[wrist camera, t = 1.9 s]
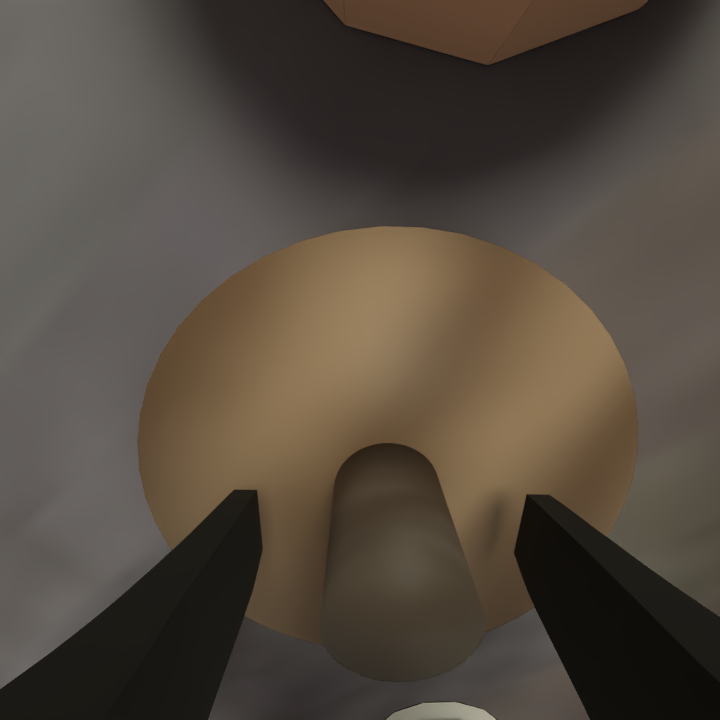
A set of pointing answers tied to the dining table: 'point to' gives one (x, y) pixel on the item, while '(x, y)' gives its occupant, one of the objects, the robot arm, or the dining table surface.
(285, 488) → the lid
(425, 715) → the foam cup
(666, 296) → the dining table surface
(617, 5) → the bowl
